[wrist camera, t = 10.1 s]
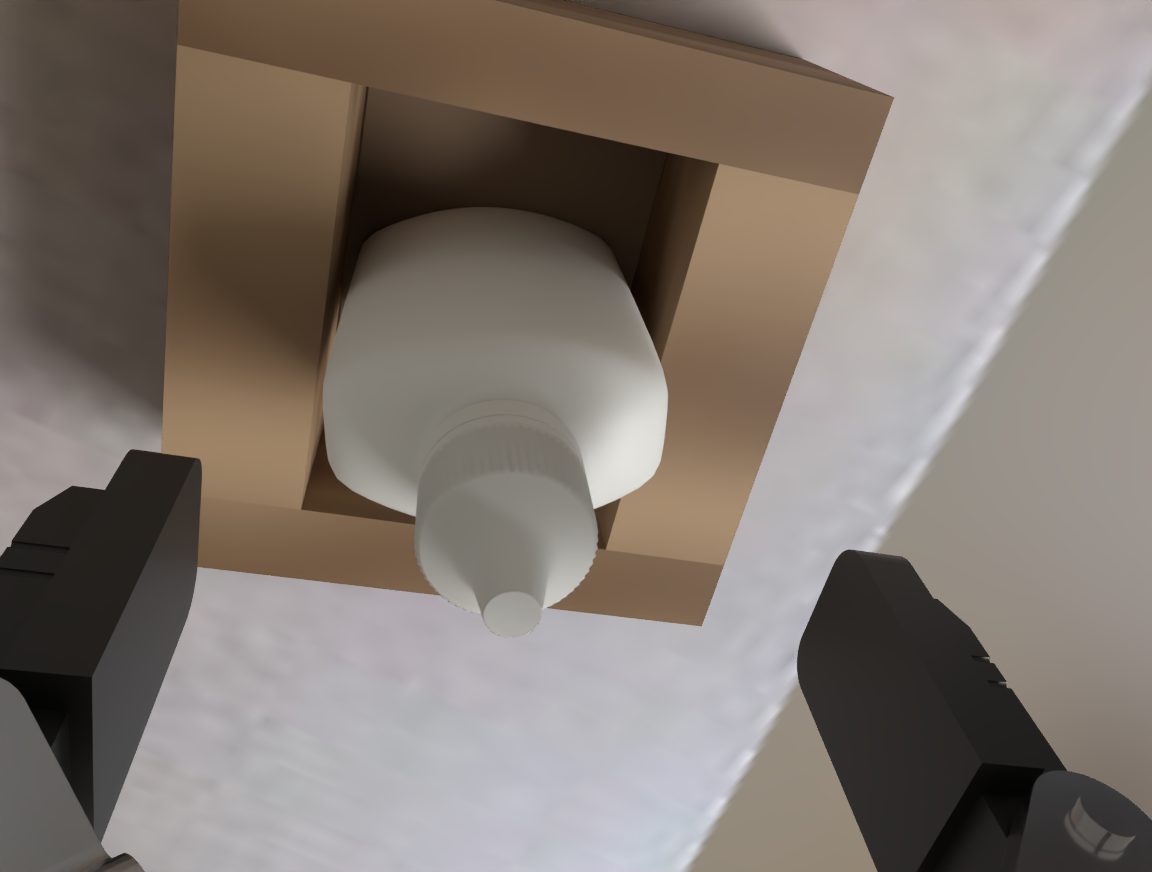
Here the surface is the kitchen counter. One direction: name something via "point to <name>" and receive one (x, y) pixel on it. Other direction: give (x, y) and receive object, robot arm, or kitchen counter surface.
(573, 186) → the socket block
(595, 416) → the eye dropper bottle
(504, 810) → the kitchen counter surface
